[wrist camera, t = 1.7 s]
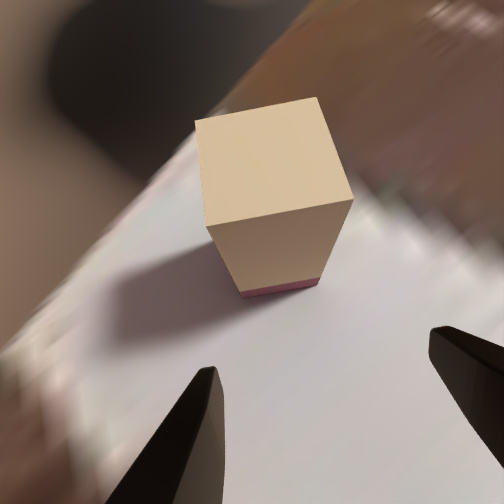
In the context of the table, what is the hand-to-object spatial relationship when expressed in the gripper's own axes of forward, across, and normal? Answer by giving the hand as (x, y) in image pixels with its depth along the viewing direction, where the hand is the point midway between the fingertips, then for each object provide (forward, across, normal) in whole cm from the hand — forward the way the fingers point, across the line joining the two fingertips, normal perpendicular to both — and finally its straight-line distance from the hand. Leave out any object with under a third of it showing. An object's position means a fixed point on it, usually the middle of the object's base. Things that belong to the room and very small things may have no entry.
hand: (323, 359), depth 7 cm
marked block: (+16, 0, +4) cm, 16 cm away
